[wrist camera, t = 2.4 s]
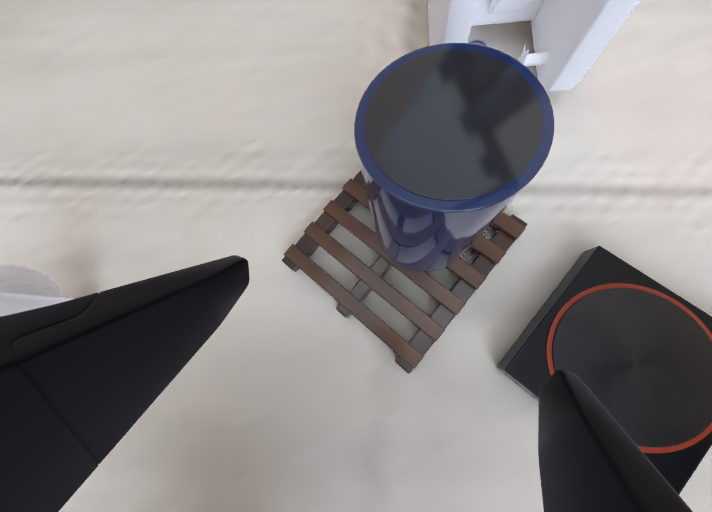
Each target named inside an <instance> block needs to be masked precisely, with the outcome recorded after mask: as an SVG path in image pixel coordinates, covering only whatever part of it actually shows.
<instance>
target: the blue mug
mask: <svg viewBox="0 0 712 512" xmlns="http://www.w3.org/2000/svg"><path fill="white" fill-rule="evenodd" d="M553 135H554V116H553V109H552V106H551V103H550V100H549V97H548V95H547V93H546V91H545V89H544V87H543V86H542V84H541V83H540V81H539V80H538V78H537V77H536V76H535V75H534V74H533V73H532V72H531V71H530V70H529V69H528V68H527V67H526V66H524V65H523V64H522V63H521V62H519V61H518V60H516V59H515V58H513V57H511V56H510V55H508V54H505V53H503V52H501V51H499V50H496V49H493V48H490V47H487V46H486V44H485V42H484V41H483V40H481V39H474V40H472V41H470V42H469V43H444V44H437V45H432V46H427V47H424V48H421V49H418V50H415V51H413V52H410V53H408V54H406V55H404V56H402V57H400V58H399V59H397V60H395V61H394V62H392V63H391V64H390V65H388V66H387V67H386V68H385V69H383V70H382V71H381V72H380V73H379V74H378V75H377V76H376V77H375V79H374V80H373V81H372V82H371V83H370V85H369V86H368V88H367V89H366V91H365V93H364V95H363V97H362V99H361V101H360V103H359V106H358V109H357V112H356V118H355V124H354V136H355V144H356V149H357V153H358V157H359V162H360V166H361V171H362V175H363V180H364V184H365V189H366V193H367V197H368V202H369V206H370V211H371V215H372V220H373V224H374V228H375V233H376V237H377V240H378V242H379V245H380V247H381V248H382V250H383V251H384V252H385V254H386V255H387V256H388V257H389V258H390V259H391V260H392V261H394V262H395V263H397V264H398V265H400V266H402V267H405V268H407V269H410V270H414V271H435V270H439V269H442V268H444V267H447V266H449V265H451V264H452V263H454V262H455V261H456V260H458V259H459V258H460V257H461V256H462V255H463V254H464V253H465V252H466V250H467V249H468V248H469V247H470V246H471V245H472V244H473V243H474V242H475V241H476V240H477V239H478V237H479V236H480V235H481V234H482V233H483V232H484V231H485V230H486V229H487V228H488V227H489V226H490V224H491V223H492V222H493V221H494V220H495V219H496V218H497V217H498V216H499V215H500V214H501V213H502V211H503V210H504V209H505V208H506V207H507V206H508V205H509V204H510V203H511V202H512V201H513V200H514V198H515V197H516V196H517V195H518V194H519V193H520V192H521V191H522V190H523V189H524V188H525V187H526V185H527V184H528V183H529V182H530V181H531V180H532V179H533V178H534V177H535V175H536V174H537V173H538V171H539V170H540V169H541V167H542V166H543V164H544V162H545V160H546V158H547V156H548V154H549V151H550V148H551V145H552V141H553Z"/></svg>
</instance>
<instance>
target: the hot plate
mask: <svg viewBox="0 0 712 512" xmlns="http://www.w3.org/2000/svg"><path fill="white" fill-rule="evenodd" d="M497 368H498V369H499V370H500V371H502V372H503V373H504V374H505V375H507V376H508V377H509V378H510V379H512V380H513V381H514V382H515V383H516V384H518V385H519V386H520V387H521V388H523V389H524V390H525V391H526V392H528V393H529V394H530V395H531V396H533V397H534V398H535V399H536V400H537V401H539V392H540V389H541V387H542V386H543V384H544V383H545V382H546V381H547V380H548V379H549V378H550V376H551V375H552V374H553V373H554V372H555V371H556V370H558V369H562V370H565V371H568V372H570V373H573V374H576V375H577V376H579V377H580V379H581V380H582V381H583V382H584V383H585V384H586V386H587V387H588V388H589V389H590V390H591V392H592V393H593V394H594V395H595V396H596V397H597V399H598V400H599V401H600V402H601V403H602V405H603V406H604V407H605V408H606V409H607V411H608V412H609V413H610V414H611V415H612V417H613V418H614V419H615V420H616V421H617V422H618V424H619V425H620V426H621V427H622V428H623V430H624V431H625V432H626V433H627V434H628V436H629V437H630V438H631V439H632V440H633V441H634V443H635V444H636V445H637V446H638V447H639V449H640V450H641V451H642V452H643V453H644V455H645V456H646V457H647V458H648V459H649V460H650V462H651V463H652V464H653V465H654V466H655V468H656V469H657V470H658V471H659V472H660V474H661V475H662V476H663V477H664V478H665V479H666V481H667V482H668V483H669V484H670V485H671V487H672V488H673V489H674V490H675V491H676V493H677V494H678V495H679V494H680V492H681V491H682V489H683V488H684V486H685V485H686V483H687V482H688V480H689V479H690V477H691V476H692V474H693V473H694V471H695V470H696V468H697V467H698V465H699V464H700V462H701V460H702V459H703V457H704V456H705V454H706V453H707V451H708V450H709V448H710V447H711V445H712V317H711V316H710V315H708V314H707V313H705V312H703V311H702V310H700V309H699V308H697V307H695V306H694V305H692V304H691V303H689V302H688V301H686V300H684V299H683V298H681V297H680V296H678V295H676V294H675V293H673V292H672V291H670V290H669V289H667V288H665V287H664V286H662V285H661V284H659V283H658V282H656V281H654V280H653V279H651V278H650V277H648V276H646V275H645V274H643V273H642V272H640V271H639V270H637V269H635V268H634V267H632V266H631V265H629V264H628V263H626V262H624V261H623V260H621V259H620V258H618V257H616V256H615V255H613V254H612V253H610V252H609V251H607V250H605V249H604V248H602V247H601V246H597V247H595V248H592V249H590V250H587V251H585V252H584V253H583V254H582V255H581V257H580V258H579V259H578V261H577V262H576V263H575V265H574V266H573V267H572V268H571V270H570V271H569V272H568V274H567V275H566V276H565V278H564V279H563V280H562V282H561V283H560V284H559V286H558V287H557V288H556V289H555V291H554V292H553V293H552V295H551V296H550V297H549V299H548V300H547V301H546V303H545V304H544V305H543V307H542V308H541V309H540V310H539V312H538V313H537V314H536V316H535V317H534V318H533V320H532V321H531V322H530V324H529V325H528V326H527V328H526V329H525V330H524V331H523V333H522V334H521V335H520V337H519V338H518V339H517V341H516V342H515V343H514V345H513V346H512V347H511V349H510V350H509V351H508V352H507V354H506V355H505V356H504V358H503V359H502V360H501V362H500V363H499V364H498V366H497Z"/></svg>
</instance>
